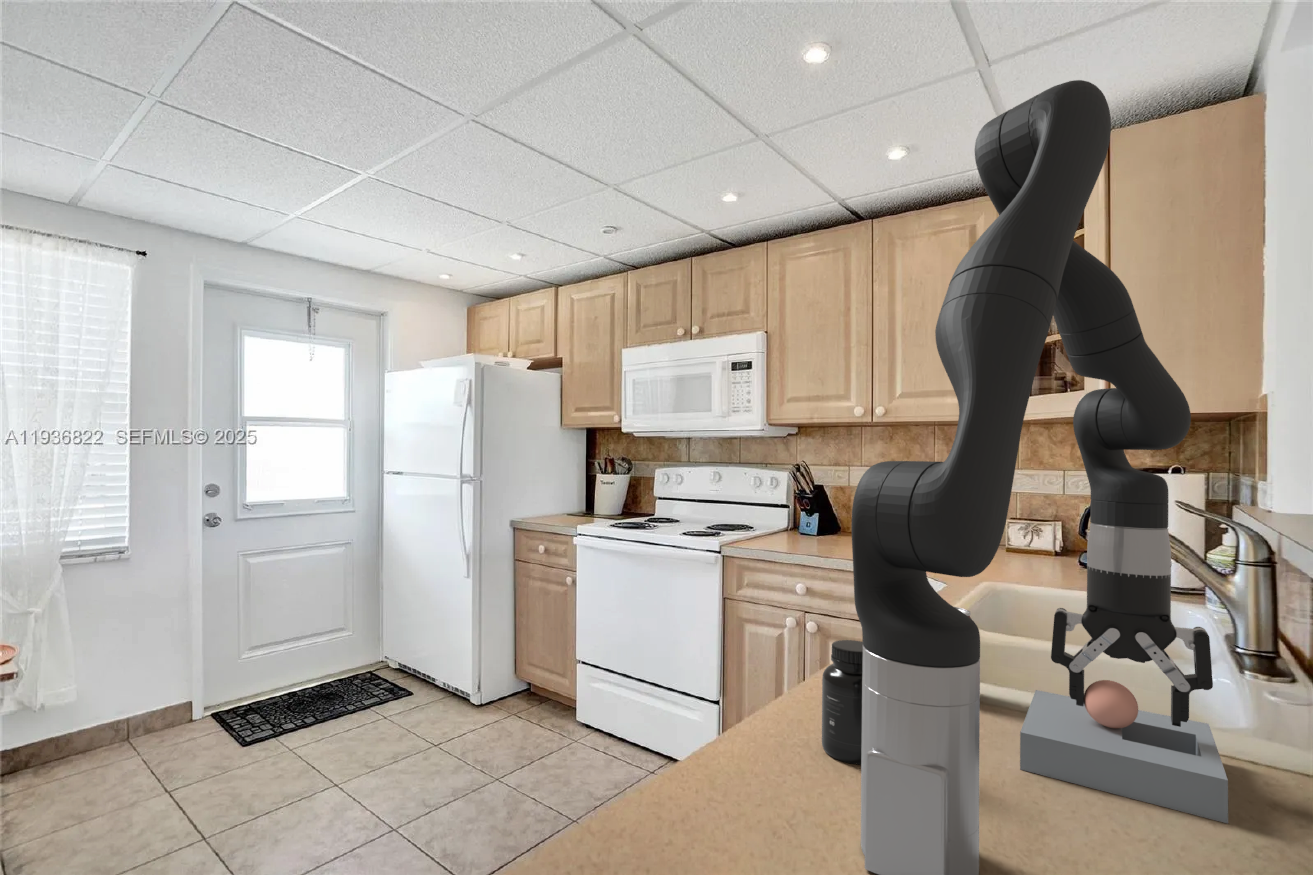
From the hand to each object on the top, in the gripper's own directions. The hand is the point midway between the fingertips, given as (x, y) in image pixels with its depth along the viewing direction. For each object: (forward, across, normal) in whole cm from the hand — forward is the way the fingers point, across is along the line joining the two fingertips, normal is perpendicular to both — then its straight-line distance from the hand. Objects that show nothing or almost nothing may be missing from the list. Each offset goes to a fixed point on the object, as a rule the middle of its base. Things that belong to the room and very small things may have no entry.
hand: (1126, 713), depth 71 cm
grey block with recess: (+6, -1, 0) cm, 6 cm away
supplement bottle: (+6, -26, -15) cm, 30 cm away
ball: (-1, -2, 0) cm, 2 cm away
